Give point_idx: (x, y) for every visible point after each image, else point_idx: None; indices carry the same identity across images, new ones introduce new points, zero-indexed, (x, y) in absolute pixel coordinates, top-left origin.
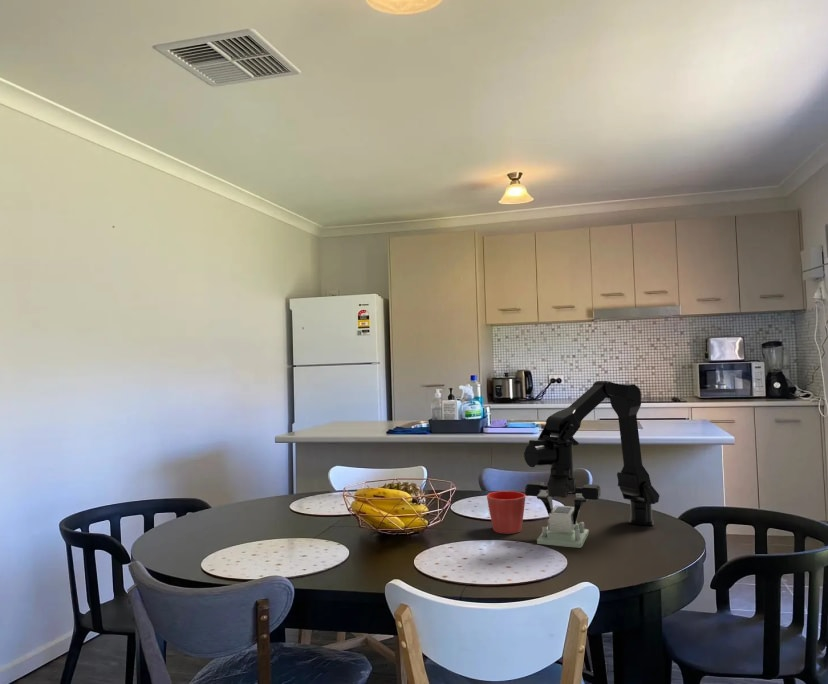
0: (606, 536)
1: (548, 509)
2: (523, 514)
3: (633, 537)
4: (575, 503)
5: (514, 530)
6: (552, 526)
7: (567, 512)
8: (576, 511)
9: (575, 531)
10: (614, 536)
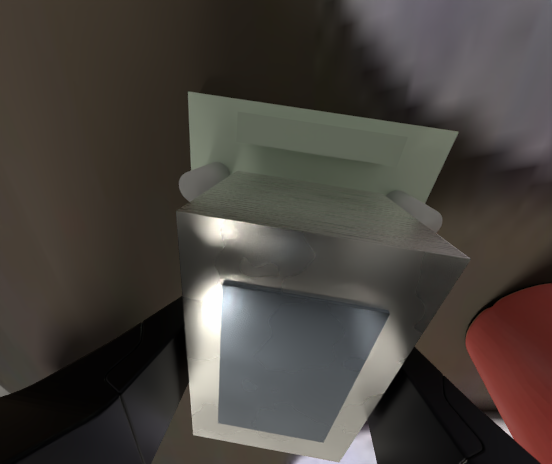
0: (139, 290)
1: (435, 382)
2: (517, 403)
3: (57, 289)
4: (44, 428)
5: (529, 297)
6: (372, 200)
7: (231, 299)
8: (148, 332)
9: (209, 176)
10: (115, 292)
